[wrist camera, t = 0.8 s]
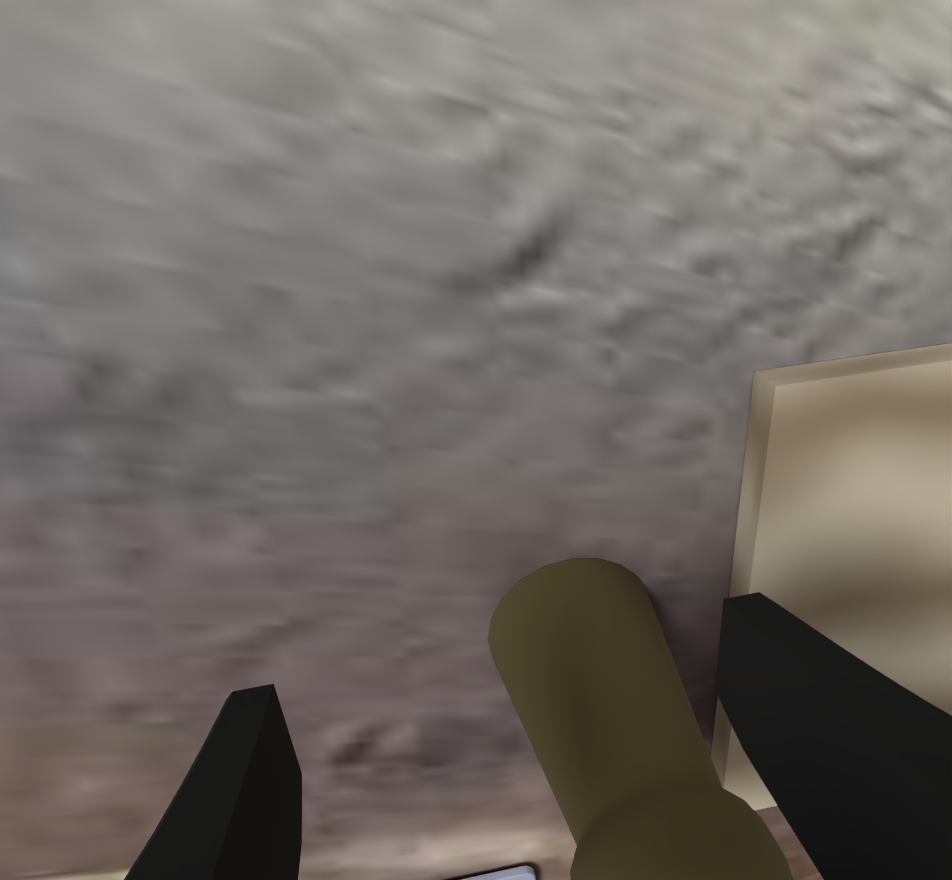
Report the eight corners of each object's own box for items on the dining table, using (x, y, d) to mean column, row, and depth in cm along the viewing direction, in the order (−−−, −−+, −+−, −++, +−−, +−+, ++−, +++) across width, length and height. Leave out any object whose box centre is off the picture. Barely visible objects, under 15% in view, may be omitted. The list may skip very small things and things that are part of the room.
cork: (491, 701, 26) (577, 1067, 16) (483, 571, 23) (582, 920, 13) (646, 674, 26) (818, 1010, 17) (656, 546, 24) (869, 859, 14)
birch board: (992, 732, 32) (1014, 754, 31) (706, 792, 30) (719, 818, 29) (1153, 314, 23) (1192, 325, 22) (754, 371, 21) (775, 386, 20)
